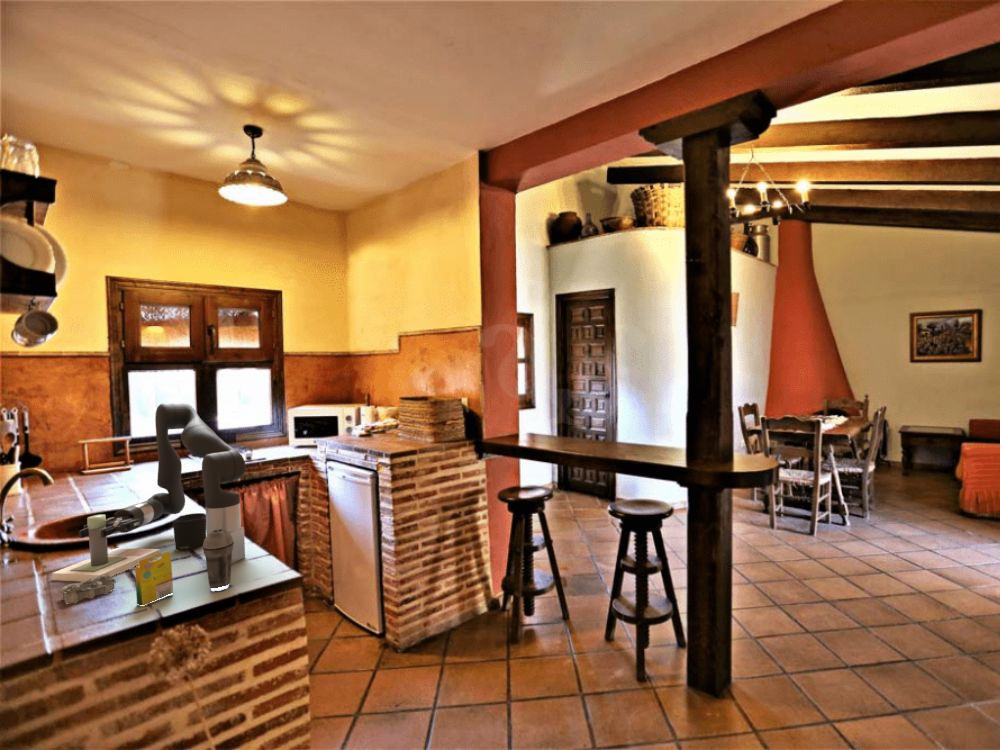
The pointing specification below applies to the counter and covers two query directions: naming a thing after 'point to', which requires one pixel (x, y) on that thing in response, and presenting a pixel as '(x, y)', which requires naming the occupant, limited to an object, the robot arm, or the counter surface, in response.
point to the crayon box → (154, 578)
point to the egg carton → (87, 588)
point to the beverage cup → (218, 556)
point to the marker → (97, 540)
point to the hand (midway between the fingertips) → (91, 534)
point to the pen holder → (190, 531)
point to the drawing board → (105, 565)
